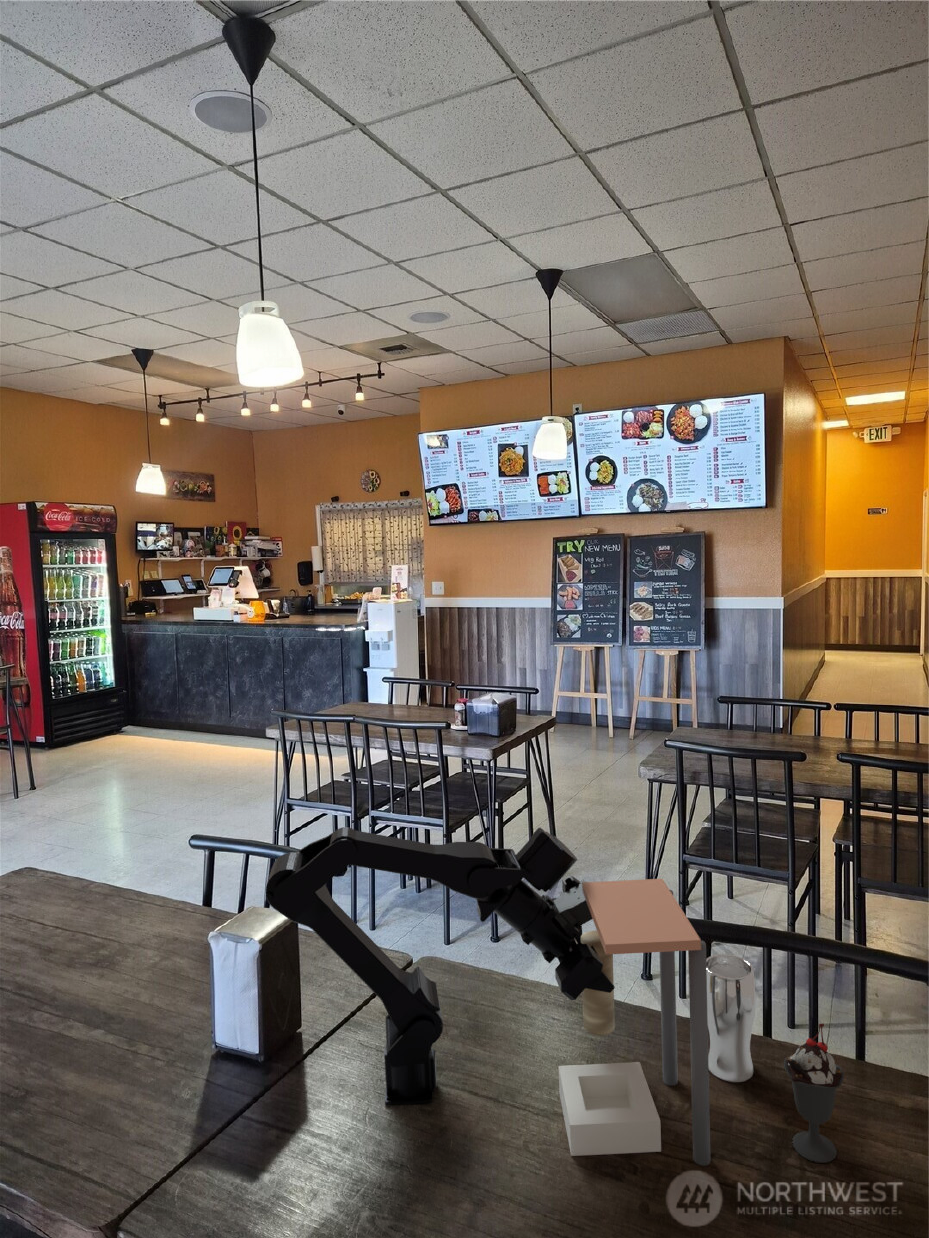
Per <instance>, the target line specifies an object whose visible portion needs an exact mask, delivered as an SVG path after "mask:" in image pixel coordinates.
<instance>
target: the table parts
mask: <svg viewBox="0 0 929 1238" xmlns="http://www.w3.org/2000/svg"><path fill="white" fill-rule="evenodd" d="M581 883H582V891H583V894H584V897H585V899H586V902H587V905H588V907H589V910H590V913H591V916H592V918H593V919H592V922H593V923H594V926H595V929H596V931H597V932H598V935H599V937H600V940H601V943H602V946H603V948H604V951H605V954H606V955H608V954H613V955H623V954H627V955H628V954H641V953H642V954H644V953H659V980H660V986H659V987H660V988H659V989H660V1017H661V1018H660V1019H661V1020H660V1021H661V1023H660V1024H661V1025H660V1026H661V1027H660V1028H661V1059H662V1060H661V1061H662V1066H661V1067H662V1082H663V1083H664V1084H665V1085H667V1086H670V1087H671V1086H676V1085H677V1084H678V1082H679V1081H678V1079H679V1077H678V1075H679V1073H678V1039H677V1038H678V1033H677V998H676V997H677V994H676V993H677V991H676V989H677V988H676V954H675V952H684V951H685V952H687V951H688V987H689V988H688V991H689V998H688V999H689V1031H690V1033H689V1034H690V1035H689V1037H690V1043H689V1044H690V1076H691V1077H690V1080H691V1117H692V1118H691V1119H692V1120H691V1123H692V1124H691V1127H692V1160H693V1162H695V1164H696V1165H698V1166H703V1167H705V1166H708V1165H710V1164H711V1121H710V1120H711V1118H710V1114H711V1113H710V1079H709V1077H710V1076H709V1075H710V1074H709V1073H710V1072H709V1071H710V1070H709V1064H708V1056H709V1029H708V1016H707V968H706V959H707V943H706V942H705V941H704V940H701V937H700V936H699V935H698V933H697V931H696V930H695V928H694V927H693V925H692V923H691V922H690V920H689V919H688V917H687V916H686V914H685V912H684V910H683V909H682V908H681V906H680V904H679V903H678V901H677V900H676V898H675V896H674V891H673V890H672V889H669V887H668V885H667V883H666V882H665V881H664V879H663V878H649V879H629V880H627V879H626V880H608V881H585V882H581ZM558 1085H559V1086H558V1088H559V1089H558V1091H559V1098H560V1104H561V1108H562V1109H561V1110H562V1114H563V1119H564V1126H565V1131H566V1135H567V1139H568V1140H567V1141H568V1147H569V1150H570V1151H569V1152H570V1156H572V1157H577V1156H579V1157H580V1156H597V1155H615V1154H616V1155H619V1154H620V1155H621V1154H639V1153H656V1152H659V1153H660V1152H662V1140H661V1139H662V1135H661V1134H662V1133H661V1132H662V1131H661V1130H662V1129H661V1118H660V1115H659V1113H658V1110H657V1108H656V1104H655V1102H654V1099H653V1096H652V1094H651V1091H650V1088H649V1085H648V1083H647V1079H646V1077H645V1074H644V1071H643V1067H642V1065H641V1062H640V1061H634V1062H633V1061H632V1062H613V1063H593V1064H591V1063H590V1064H573V1065H558Z"/></svg>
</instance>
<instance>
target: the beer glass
mask: <svg viewBox="0 0 929 1238" xmlns="http://www.w3.org/2000/svg"><path fill="white" fill-rule="evenodd" d="M706 968H707V1016H708V1035H709V1050H708V1064H709V1071H710V1072H711V1074H712V1075H713V1076H715V1077H716V1078H718V1079H720V1080H723V1081H726V1082H731V1083H741V1082H742V1083H743V1082H746V1081H748V1080H749V1079H751V1078H752V1077H753V1074H754V1066H753V1061H752V1056H751V1055H752V1054H751V1038H752V1032H753V1026H754V1022H755V1015H756V1005H757V1003H756V1000H757V999H756V984H755V975H754V974H755V972H754V967H753V965H752V963H751V962H750V961H748V960H746V959H744V958H743V957H741V956H737V955H733V954H726V953H725V954H724V953H721V954H719V953H718V954H713V955H710V956H708V957H706Z"/></svg>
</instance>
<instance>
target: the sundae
mask: <svg viewBox="0 0 929 1238" xmlns="http://www.w3.org/2000/svg"><path fill="white" fill-rule="evenodd" d="M823 1027H825V1024H824V1023H818V1032H817V1034H816V1035H815V1036H814V1037H813V1038H811V1037H809V1038H807V1039H806V1042H805V1043H804V1044H801V1045H799V1046H798V1047H797V1049H796V1051H795V1053H794V1054H793V1053H792V1054H791V1055H788V1056H787V1057H785V1059H784V1060H783V1066H784V1070H785V1071H786V1073H787V1076H788V1077H789V1078H790V1079H791V1085H792V1093H793V1097H794V1102H795V1105H796V1110H797V1112H798V1113H799V1114H800V1115H801V1117H802V1118H803V1119H804V1120H806V1121H807V1122H808V1131H807V1130H806V1131H800V1132H798V1133H796V1134H795V1135H793V1138H792V1140H793V1141H792V1140H791V1141H792V1143H793V1144H792V1143H791V1144H792V1147H793V1148H795V1149H794V1150H795V1151H796V1152H797V1154H799V1155H800V1156H801V1157H803V1159H806V1160H808V1161H810V1162H813V1161H814V1162H813V1163H820V1164H824V1163H830V1162H831V1161H833V1160H834V1159H836V1157H837V1152H838V1151H837V1147H836V1146H835V1144H834V1143H833V1141H831V1140H830V1139H829V1138H828V1137H826V1136H825V1135H823V1134H820V1125H823V1124H825V1123H827V1122H828V1121H829V1120H830V1119H831V1118H832V1115H833V1111H834V1107H835V1101H836V1096H837V1095H836V1094H837V1093H836V1092H837V1089H839V1088H840V1087H841V1086H842V1084H843V1082H844V1080H845V1074H844V1069H843V1068H842V1067H841V1066H840V1065H838V1063H836V1061H835V1059H834V1057H833V1056H832V1055H831V1053H829V1052H828V1048H829V1047H828V1045H827V1044H826V1043H825V1041H824V1035H823ZM820 1032H821V1033H820ZM819 1034H820V1035H821V1041H818V1042H817V1041H816V1038H817V1037H818V1035H819Z"/></svg>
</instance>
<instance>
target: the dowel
mask: <svg viewBox="0 0 929 1238" xmlns="http://www.w3.org/2000/svg"><path fill="white" fill-rule="evenodd" d="M581 943H582V944H587V945H588V946H590V947H591V946H592V945H593V947H594V948H595V950H596V952H597V954H598V956H599V958H600V960H601V962H602V964H603V967H602V971H603V972H604V973H605V975H606V976H607V977H608V978H609V980H610V981H611V982H612V983H613V985H614V982H615V981H614V954H608V955H606V954H605V951H604V948H603V946H602V943H601V940H600V937H599V935H598V932H597V930H589V931H585V932H582V935H581ZM614 986H615V985H614ZM614 989H615V988H614ZM614 989H613V991H612V992H611V993H608V992H603V991H597V990H592V989H586V988H585V989H584V991H583V992H582V993H581V994H582V1018H583V1019H582V1020H583V1023H582V1024H583V1028H584V1030H585V1031H586V1032H588V1033H590V1034H591V1035H594V1036H606V1035H609V1034H612V1033H613V1032H614V1031H615V1028H616V1021H615V1020H616V1018H615V1015H616V1014H615V990H614Z"/></svg>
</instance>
